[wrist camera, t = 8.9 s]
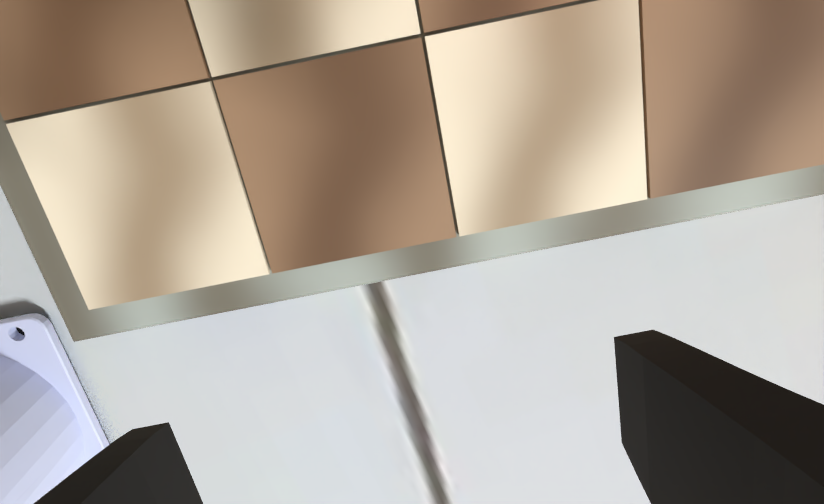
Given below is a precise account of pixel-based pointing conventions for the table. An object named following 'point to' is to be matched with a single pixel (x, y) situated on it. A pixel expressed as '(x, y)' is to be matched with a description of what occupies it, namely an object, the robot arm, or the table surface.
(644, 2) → the board
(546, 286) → the table surface
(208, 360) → the table surface
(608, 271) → the table surface
